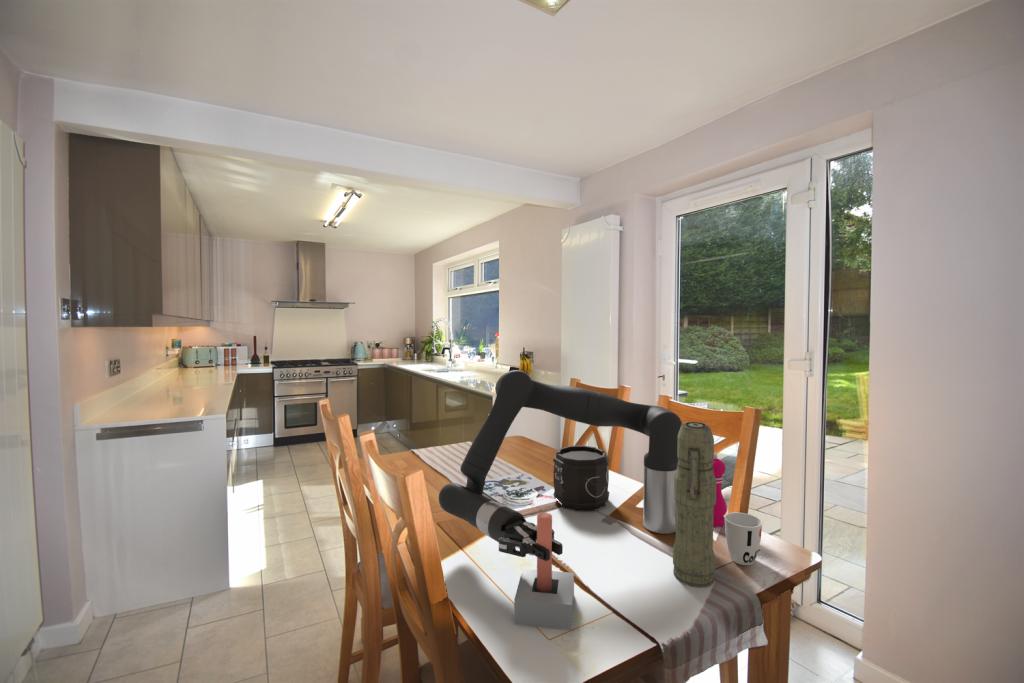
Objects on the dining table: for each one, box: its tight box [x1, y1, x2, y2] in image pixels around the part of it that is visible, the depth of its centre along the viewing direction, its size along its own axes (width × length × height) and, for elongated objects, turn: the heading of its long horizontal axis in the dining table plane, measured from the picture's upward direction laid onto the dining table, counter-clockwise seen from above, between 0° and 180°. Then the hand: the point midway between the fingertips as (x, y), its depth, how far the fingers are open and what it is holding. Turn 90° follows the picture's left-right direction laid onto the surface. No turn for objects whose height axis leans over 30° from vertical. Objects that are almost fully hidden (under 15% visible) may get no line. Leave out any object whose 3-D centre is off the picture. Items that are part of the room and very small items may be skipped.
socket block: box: [513, 568, 575, 631], centre depth 96 cm, size 11×11×5 cm
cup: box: [724, 511, 763, 566], centre depth 114 cm, size 8×8×10 cm
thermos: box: [672, 421, 716, 588], centre depth 106 cm, size 9×12×35 cm
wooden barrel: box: [552, 445, 610, 512], centre depth 150 cm, size 18×18×16 cm
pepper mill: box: [713, 452, 728, 528], centre depth 133 cm, size 7×7×20 cm
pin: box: [536, 512, 553, 592], centre depth 95 cm, size 3×3×15 cm
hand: (554, 552), depth 93 cm, fingers closed on pin, 3 cm apart
